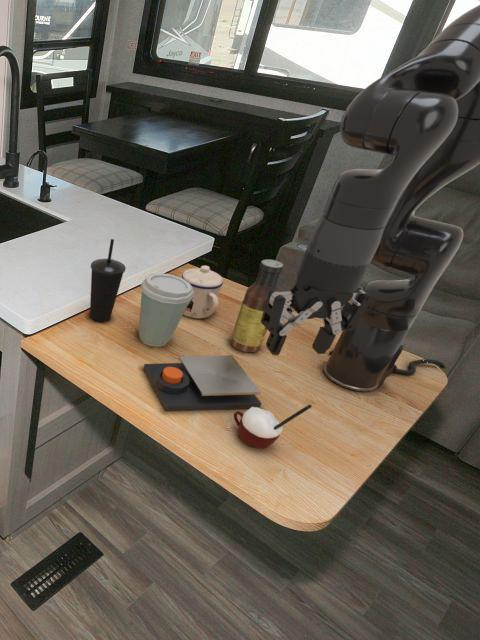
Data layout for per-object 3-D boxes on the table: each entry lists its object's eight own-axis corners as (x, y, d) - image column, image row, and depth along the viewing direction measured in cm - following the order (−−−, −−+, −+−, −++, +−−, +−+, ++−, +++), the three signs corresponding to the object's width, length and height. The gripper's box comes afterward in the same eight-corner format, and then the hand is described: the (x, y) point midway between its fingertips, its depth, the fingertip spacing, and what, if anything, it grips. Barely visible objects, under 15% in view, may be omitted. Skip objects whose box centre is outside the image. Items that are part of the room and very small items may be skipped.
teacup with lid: (167, 302, 130) (177, 259, 124) (200, 299, 132) (213, 257, 125) (191, 327, 121) (204, 283, 114) (227, 324, 122) (242, 280, 115)
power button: (177, 372, 103) (178, 366, 102) (183, 384, 100) (185, 377, 99) (159, 373, 102) (160, 366, 102) (165, 384, 100) (167, 378, 99)
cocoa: (223, 426, 94) (243, 374, 87) (254, 421, 95) (276, 369, 88) (256, 465, 86) (280, 411, 79) (289, 460, 87) (316, 407, 80)
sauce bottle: (263, 355, 112) (295, 272, 100) (232, 352, 113) (261, 269, 101) (255, 338, 117) (285, 258, 106) (226, 335, 118) (253, 255, 107)
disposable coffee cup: (151, 322, 123) (164, 264, 114) (189, 343, 115) (207, 284, 107) (120, 336, 118) (131, 277, 109) (158, 359, 110) (174, 298, 102)
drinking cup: (78, 312, 127) (88, 235, 115) (105, 307, 128) (118, 231, 117) (93, 328, 121) (105, 248, 109) (122, 322, 122) (137, 244, 111)
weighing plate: (231, 357, 106) (232, 355, 106) (259, 394, 96) (260, 391, 96) (178, 358, 106) (179, 356, 105) (201, 396, 96) (202, 393, 96)
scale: (228, 366, 108) (232, 355, 107) (259, 408, 98) (264, 396, 96) (141, 369, 108) (144, 357, 106) (163, 411, 97) (167, 399, 95)
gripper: (302, 265, 67) (261, 367, 76) (411, 262, 67) (357, 365, 76) (272, 241, 73) (237, 339, 82) (372, 239, 73) (326, 336, 83)
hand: (295, 351), depth 79 cm, fingers open, 6 cm apart
